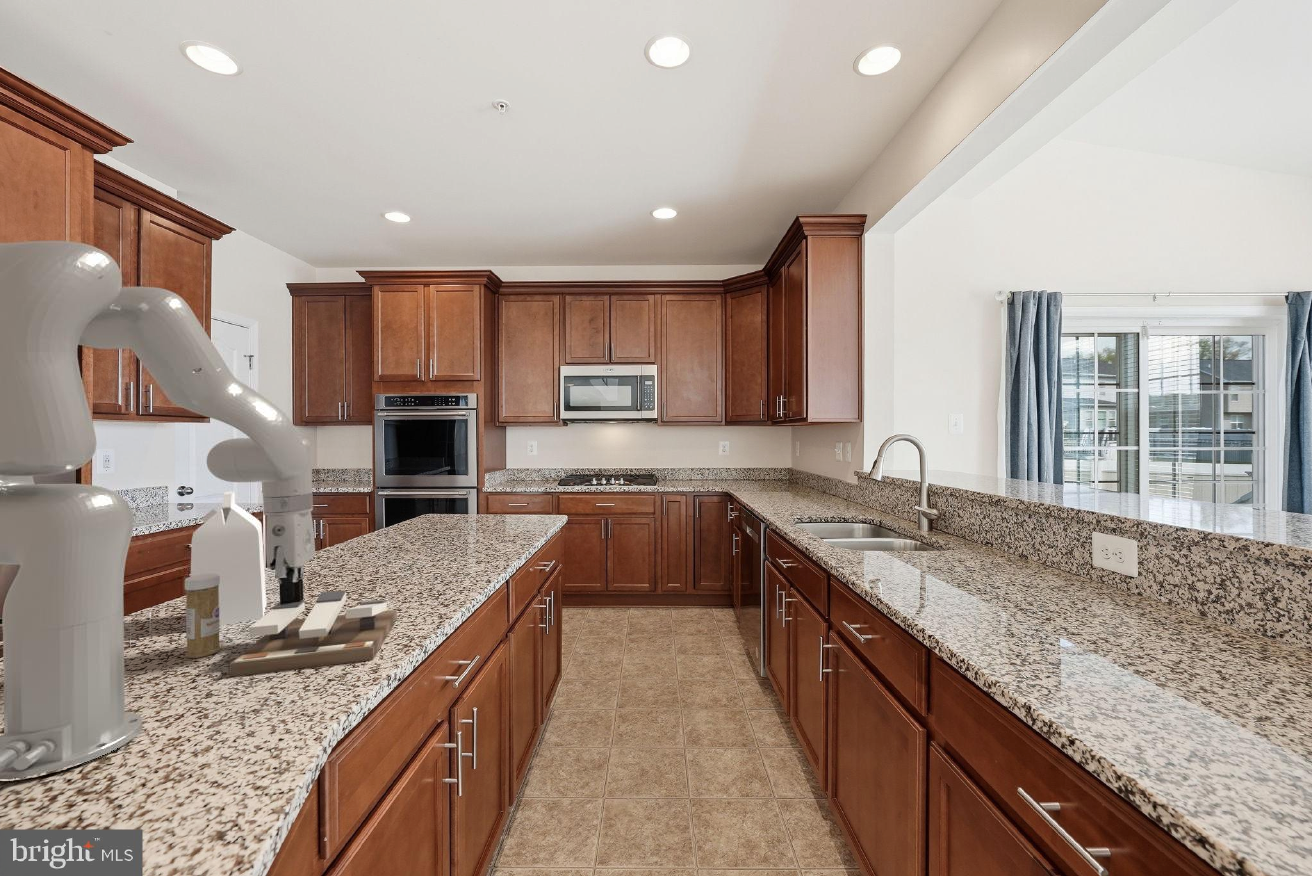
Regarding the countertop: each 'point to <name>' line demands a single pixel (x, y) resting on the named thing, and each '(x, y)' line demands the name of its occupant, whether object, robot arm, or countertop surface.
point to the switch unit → (317, 645)
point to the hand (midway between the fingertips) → (292, 602)
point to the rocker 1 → (277, 618)
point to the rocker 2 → (367, 609)
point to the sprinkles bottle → (202, 615)
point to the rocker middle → (323, 614)
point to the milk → (232, 560)
